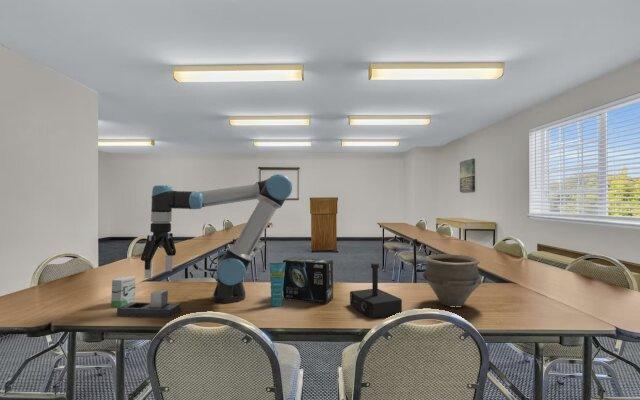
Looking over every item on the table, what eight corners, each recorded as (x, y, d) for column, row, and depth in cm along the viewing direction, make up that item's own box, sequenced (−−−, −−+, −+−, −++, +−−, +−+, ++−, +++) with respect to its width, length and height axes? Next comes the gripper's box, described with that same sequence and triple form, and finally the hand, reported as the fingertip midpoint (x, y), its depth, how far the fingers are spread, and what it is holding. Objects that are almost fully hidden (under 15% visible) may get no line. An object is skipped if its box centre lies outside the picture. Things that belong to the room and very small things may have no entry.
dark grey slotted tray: (180, 310, 124) (180, 303, 125) (169, 317, 116) (169, 309, 117) (130, 309, 126) (131, 302, 126) (116, 315, 118) (117, 308, 118)
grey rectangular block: (167, 311, 123) (167, 290, 123) (160, 315, 119) (161, 293, 119) (157, 311, 123) (157, 289, 124) (150, 315, 119) (150, 292, 119)
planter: (494, 309, 130) (494, 259, 131) (461, 318, 118) (461, 263, 119) (444, 294, 151) (444, 251, 152) (412, 301, 139) (412, 254, 140)
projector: (345, 305, 134) (346, 261, 134) (376, 301, 140) (376, 259, 141) (368, 320, 116) (369, 269, 117) (403, 314, 123) (402, 266, 123)
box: (282, 298, 143) (282, 259, 143) (291, 293, 152) (292, 256, 153) (326, 304, 134) (326, 263, 135) (333, 298, 143) (334, 259, 144)
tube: (268, 307, 130) (269, 263, 130) (268, 303, 135) (268, 261, 135) (285, 306, 131) (286, 263, 132) (284, 302, 136) (285, 261, 137)
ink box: (120, 307, 128) (121, 280, 128) (110, 307, 129) (111, 279, 129) (135, 301, 136) (136, 276, 137) (126, 301, 137) (127, 275, 137)
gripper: (169, 221, 135) (167, 267, 134) (131, 223, 110) (128, 280, 109) (185, 221, 134) (183, 268, 134) (150, 224, 110) (148, 281, 109)
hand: (159, 274), depth 121 cm, fingers open, 13 cm apart
